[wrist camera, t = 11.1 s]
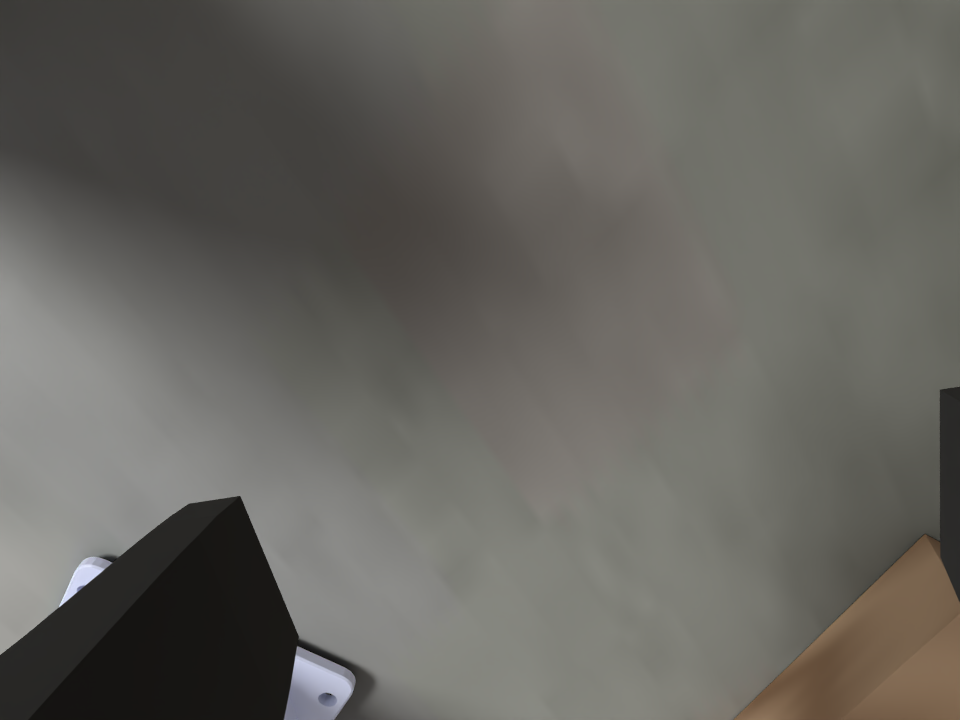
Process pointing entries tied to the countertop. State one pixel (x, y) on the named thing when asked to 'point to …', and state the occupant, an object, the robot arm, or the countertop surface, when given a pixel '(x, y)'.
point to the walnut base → (879, 653)
